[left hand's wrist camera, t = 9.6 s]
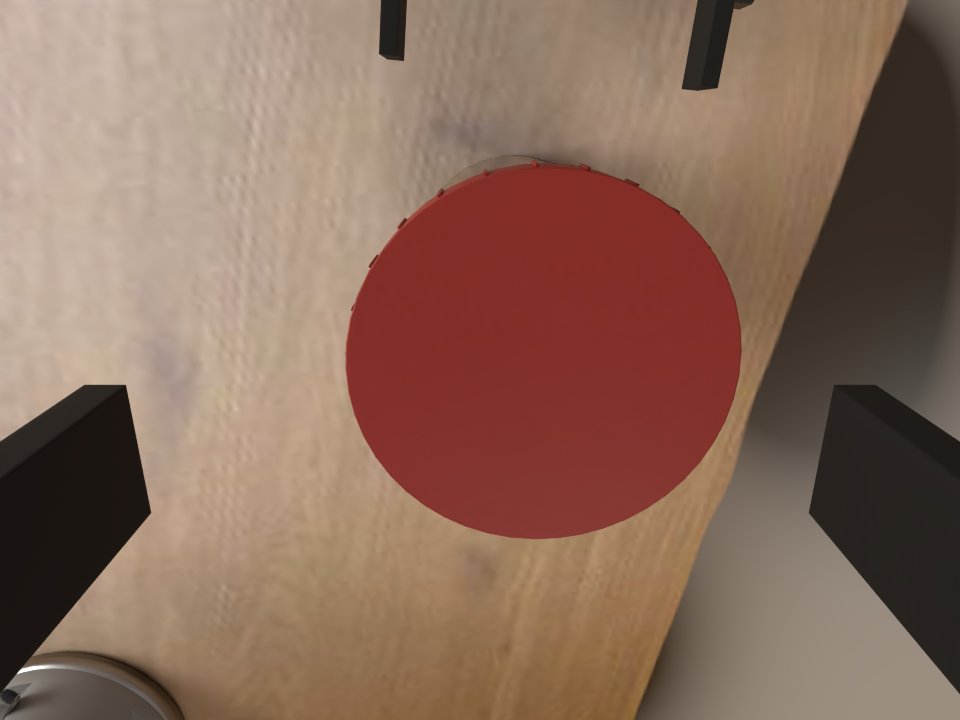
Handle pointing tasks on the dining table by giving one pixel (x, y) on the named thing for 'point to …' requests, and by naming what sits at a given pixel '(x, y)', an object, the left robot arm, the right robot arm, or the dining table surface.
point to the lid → (543, 351)
